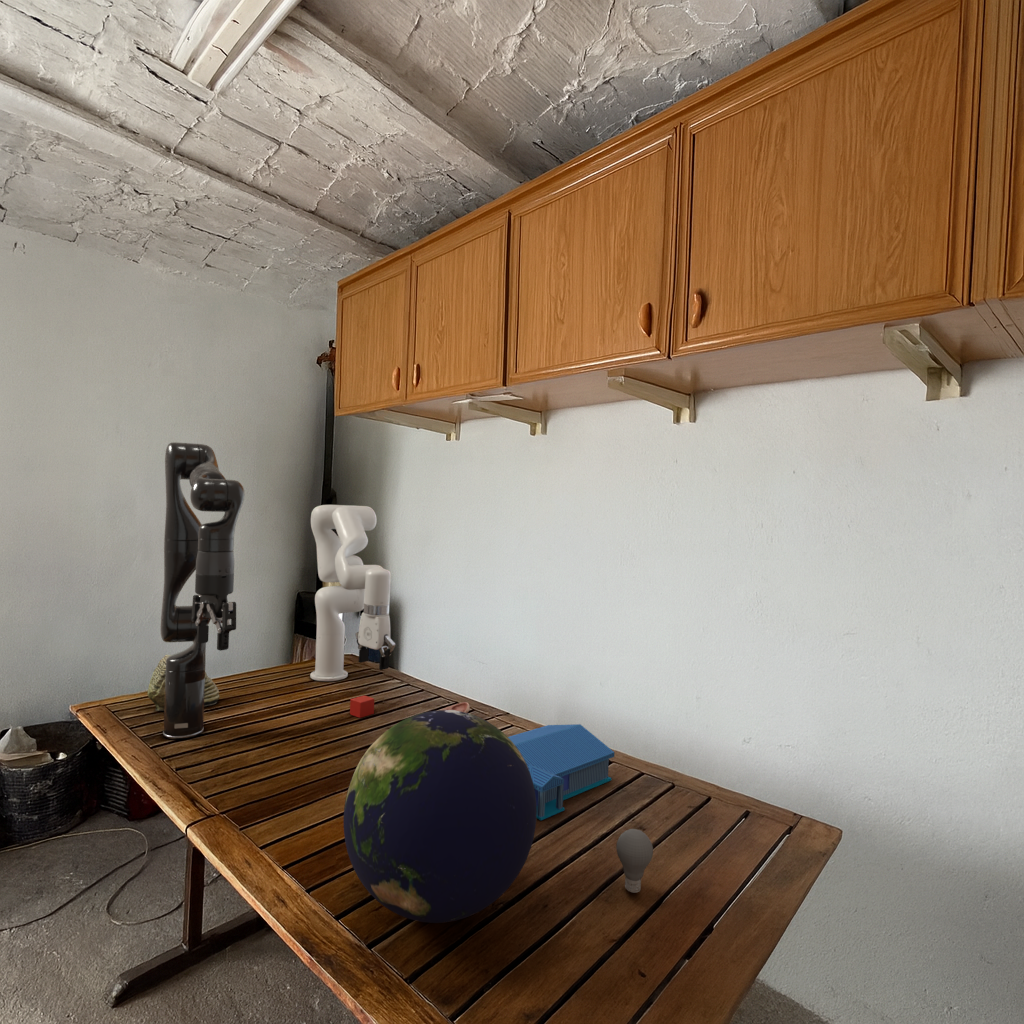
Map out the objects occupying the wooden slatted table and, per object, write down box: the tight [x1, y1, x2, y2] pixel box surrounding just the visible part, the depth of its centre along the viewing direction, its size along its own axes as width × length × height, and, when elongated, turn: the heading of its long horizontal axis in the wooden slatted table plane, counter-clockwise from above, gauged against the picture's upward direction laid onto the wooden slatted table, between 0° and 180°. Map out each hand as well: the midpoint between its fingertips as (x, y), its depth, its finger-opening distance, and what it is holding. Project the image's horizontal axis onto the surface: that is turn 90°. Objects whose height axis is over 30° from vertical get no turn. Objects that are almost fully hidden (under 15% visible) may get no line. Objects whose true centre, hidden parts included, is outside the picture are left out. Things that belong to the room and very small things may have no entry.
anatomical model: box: [436, 701, 470, 713], centre depth 184 cm, size 13×4×12 cm
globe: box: [343, 709, 537, 924], centre depth 100 cm, size 30×30×30 cm
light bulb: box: [615, 828, 654, 894], centre depth 106 cm, size 6×6×10 cm
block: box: [349, 694, 375, 719], centre depth 185 cm, size 4×5×4 cm
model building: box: [507, 723, 615, 821], centre depth 141 cm, size 39×24×10 cm, turn 132°
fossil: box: [147, 654, 221, 712], centre depth 185 cm, size 9×18×15 cm, turn 132°
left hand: (212, 646), depth 137 cm, fingers open, 8 cm apart
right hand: (373, 665), depth 192 cm, fingers open, 9 cm apart
